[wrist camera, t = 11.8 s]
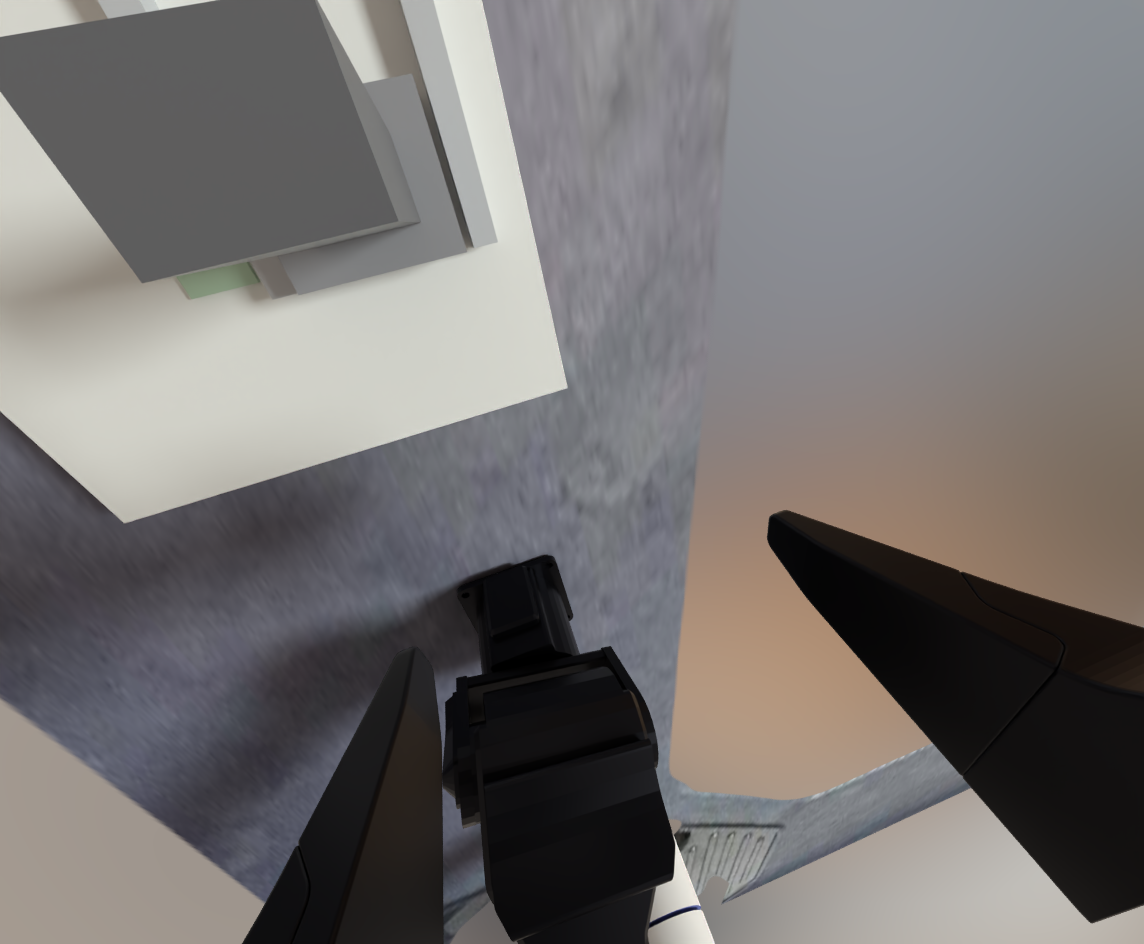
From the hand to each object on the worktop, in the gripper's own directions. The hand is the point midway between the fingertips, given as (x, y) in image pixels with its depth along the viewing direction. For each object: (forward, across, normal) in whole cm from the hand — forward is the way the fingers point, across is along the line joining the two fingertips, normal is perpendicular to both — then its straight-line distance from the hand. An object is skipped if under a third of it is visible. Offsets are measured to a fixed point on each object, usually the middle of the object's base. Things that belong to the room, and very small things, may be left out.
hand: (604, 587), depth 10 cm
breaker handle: (+10, +3, -9) cm, 14 cm away
